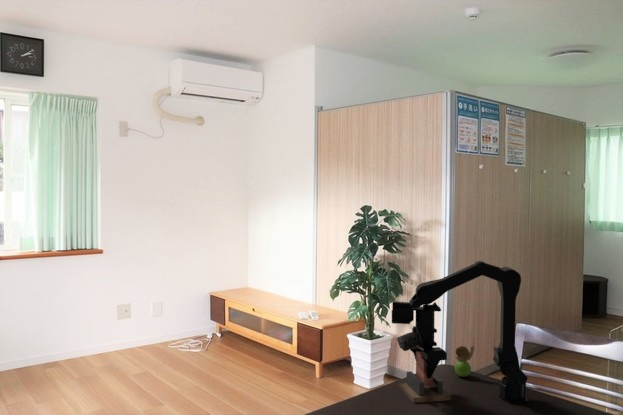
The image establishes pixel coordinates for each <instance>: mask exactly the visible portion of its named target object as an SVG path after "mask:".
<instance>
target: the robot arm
mask: <svg viewBox="0 0 623 415" xmlns="http://www.w3.org/2000/svg"><path fill="white" fill-rule="evenodd" d="M481 276H484V277H487V278H489V279H491V280H494V281H496V282H497V288H498V291H499V294H500V327H499V328H500V334H499V336H500V338H499V344H498V347H495V346H494V347H493V358H492V360H493V362H494V363H495V365H496V367H497V368H498V370H499V371H500V373H501V374H502V375H503V377H501V382H500V386H499V388H500V389H499V392H500V393H498V397H500V398H501V399H503V400H504V401H506V402H507V403H508V404H522V403H530V400H529V399H528V398H527V396H526V394H527V381H528V378H529V377H528V376H527V375H526V374H525V373H524V371H523V370H522V369H521V366H520V362H519V355H518V353H517V348H516V313H517V312H516V308H517V307H516V305H517V302H516V300H517V297H518V295H519V291H520V288H521V284H522V276H521V274H520V273H519V272H518V271H517V270H515V269H513V268H512V267H510V266H503V267H499V266H496V265H492V264H490V263H488V262H487V263H486V262H485V261H483V260H477V261H476V262H474V263H473V264H470V265H469V266H466V267H463V268H461V269H460V270H458V271H455V272H453V273H451V274H449V275H447V276H444V277H442V278H440V279H433V280H430V281H429V280H428V281H424V282H421V283H419V284H418V285H417V286H416V288H415V292H414V293H415V294H414V295H412V297H411V298H410V300H409V301H408V302H407V301H397V300H393V301H392V306H391V307H392V310H391V324H399V325H410V324H411V323H412V322H414V320H415V326H412V328H411V332H407V333H405V334H403V335H400V336H398V337H397V338H396V341H397V342H398V345H399V348H400V349H401V350H402V351H403V352H408V351H411V352H412V353H413V355H414V360H415V361H416V351H423V357H421V358H422V359H423V360H424V361H425V367H426V375H427V378H431V376H432V375H433V374H435V373H434V372H435V371H436V368H437V367H438V365H439V364H440V362H441V361H447V359H448V355H447V354H448V353H447V352H446V351H445V350H444V349H443V348H441V347H440V346H438V343H437V342H436V341H435V334H436V333H438V329H437V328H435V312H441V311H442V309H441V307H440V306H439V305H438V303H436V301H437V300H438V299H440V298H441V297H442V296H443V295H444V294H445V293H448V291H451V290H453V289H455V288H457V287H459V286H462V285H464V284H465V283H468V282H470V281H473V280H475V279H477V278H479V277H481ZM414 311H415V313H414ZM414 314H415V318H414Z"/></svg>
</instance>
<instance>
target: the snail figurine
mask: <svg viewBox="0 0 623 415" xmlns="http://www.w3.org/2000/svg"><path fill="white" fill-rule="evenodd" d="M474 352H475V342H474V341H472V345H470V346H469V349H468V348H467V347H466V346H465V345H459V346H457V347H456V349H455V352H454V353H455V355H456V356H455V359H457V362H455V364H454V371H455V374H457V376H458V377H461V378H465V377H468V376H469V375H470V374H471V372H472V366H471V364H470V363H469V361H470V360H471V359H472V357H473V355H474Z"/></svg>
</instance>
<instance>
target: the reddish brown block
mask: <svg viewBox="0 0 623 415" xmlns="http://www.w3.org/2000/svg"><path fill="white" fill-rule="evenodd" d="M421 357H423V351H416V360H415V375H416V376H417V377H418V378H419V379H421V380H422V381H423V382H424V387H425V386H433V375H432V376H431V378H427V375H426V367H425V361H424V360H423V359H422V358H421Z"/></svg>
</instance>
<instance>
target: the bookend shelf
mask: <svg viewBox="0 0 623 415" xmlns="http://www.w3.org/2000/svg"><path fill="white" fill-rule="evenodd" d="M443 382H444V381H443V380H442V379H440V377H438V376H437V375H436V374H435V373H433V386H425V387H424V382H423V381H422V380H421V379H419V378H418V377H417V376H416V373H414V372H412V371H406V382H402V383H398V390H400V391H401V392H402V394H404V395H405V396H406V397H407V398H408V399H409V400H410V401H411V402H412V403H413V404H415V403H430V402H442V401H452V395H451V394H450V393H449V392H448V391H447V390H446V389H444V388H443V387H444V386H443V385H444V383H443Z"/></svg>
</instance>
